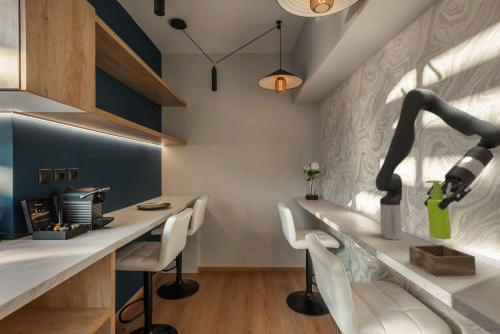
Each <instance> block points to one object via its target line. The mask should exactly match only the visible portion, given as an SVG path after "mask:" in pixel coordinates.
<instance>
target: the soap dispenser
mask: <svg viewBox="0 0 500 334" xmlns="http://www.w3.org/2000/svg"><path fill="white" fill-rule="evenodd" d="M442 182H443V181H442V180H427V181H425V182H424V183H425V184H432V186H433V189H432V190H431V199H428V198H427V199H428V200H427V199H426V200H427V205H428V207H427V216H428V226H429V227H428V229H429V237H430V238H433V239H436V240H437V239H439V240H450V239H451V238H452V234H451V222H450V211H449V208H450V207H449V205H448V206H447V208H445V209H444V210H441V209H440V208H439V207H438V204H439V203H440V202H441V201H442V200H443V199H444V196H443V190H441V189H439V184H441V183H442Z"/></svg>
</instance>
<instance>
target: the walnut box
mask: <svg viewBox="0 0 500 334" xmlns="http://www.w3.org/2000/svg"><path fill="white" fill-rule="evenodd" d="M408 251H409V263H411V264H413V265H415V266H417V267H418V268H420V269H422V270H424V271H426V272H428V273H430V274H431V275H433V276H434V277H435V276H436V277H452V276H453V277H459V276H463V277H464V276H477V272H476V271H477V270H476V269H477V268H476V256H474V255H472V254H468V253H466V252H464V251H460V250H457V249H455V248H452V247H450V246H447V245H444V244H430V245H429V244H428V245H424V244H423V245H409V246H408Z"/></svg>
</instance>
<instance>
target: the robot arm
mask: <svg viewBox="0 0 500 334" xmlns="http://www.w3.org/2000/svg"><path fill="white" fill-rule="evenodd" d="M420 111H426V112H428V113H431V114H433V115H435V116H437V117H438V118H440V119H441V120H442V121H443V122H444V124H446V125H447V126H449V128H451V129H453V130H455V131H457V132H458V133H460V134H462V135H463V136H467V137H472V136H474V134H475V135H477V136H479V137H480V140H479V141H480V142H479V141H478V143H477V144H476V145H475V146H474V147H471V148H470V149H469V150H467V151H466V152H465V154H464V155H463V156H462V157H461V158H460V159H458V161H456V162H455V163H454V165H453V166H452V167H451V168H450V169H449V170H448V171H447V173H446V174H445V175H444V181H441V182H442V183H439V189H441V190H443V200H442V201H441V202H440V203H439V204H438V207H439V208H440V209H441V210H444V209H445V208H447V206H448V207H449V206H450V205H451V203H454V202H457V203H458V202H460V201H461V200H463V199H464V198H465V197H466V196H467V195H468V194H469V193H470V192H472V188H471V187H470V186H471V184H473V183H474V182H475V180H476V179H477V178H478V177H479V176H480V175H481V174H482V172H483V170H484V169H485V168H486V167H487V166H488V165H489V164H490V163H491V161H492V160H494V158H495V157H494V156H493V154H492V153H491V151H490V150H488V149H491V148H495V147H497V146H499V145H500V127H498V126H497V125H494V124H492V123H490V122H491V121H489V122H487V121H488V120H485V119H484V120H483V119H480V118H478V117H476V116H474V115H472V114H470V113H468V112H465V111H464V110H462V109H459V108H457V107H456V106H454V105H452V104H450V103H449V102H447V101H445V100H444V99H443V98H441V97H440V96H439V95H437V94H436V93H435V92H433V91H432V90H431V89H428V88H412V89H410V90H409V91H408V92H407V93H406V94H405V96H404V99H403V101H402V106H401V109H400V113H399V118H398V121H397V125H396V127H395V130H394V133H393V135H392V138H391V141H390V144H389V147H388V150H387V153H386V155H385V159H384V161H383V163H382V166H381V167H380V170H379V171H378V174H377V175H376V177H375V187H376V188H377V190H378V191H380V192H386V194H385V195H384V196H382V197H381V198H380V200H379V207H380V208H379V209H380V212H379V213H380V218H379V221H380V224H379V225H380V236H381V238H383V239H387V240H393V241H394V240H395V241H397V240H403V234H402V233H403V231H402V228H403V227H402V208H401V204H402V203H401V202H402V199H403V180H402V177H401V176H400V174H398V173H395V171H396V169H397V167H398V166H399V165H400V164H401V163H402V162H403V161H405V159H407V157H408V156H409V155H410V153H411V152H412V148H413V147H414V144H415V141H416V128H415V127H416V126H415V124H416V120H417V118H418V115H419V113H420ZM493 157H494V158H493ZM432 189H433V185H431V186H430V188H429V190H427V192H426V194H427V196H428V197H427V199H425V201H424V202H423V204H424V206H425V207H427V208H428V205H427V200H428V199H431V190H432Z"/></svg>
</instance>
